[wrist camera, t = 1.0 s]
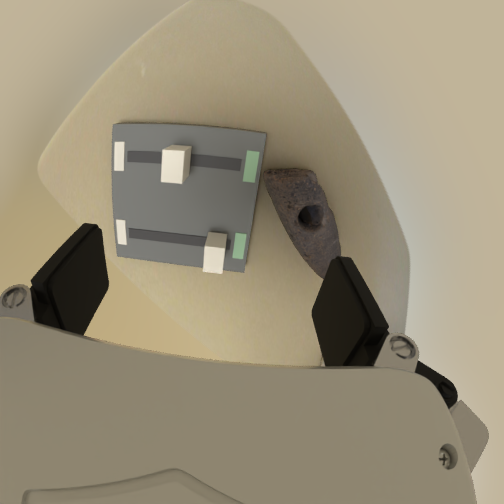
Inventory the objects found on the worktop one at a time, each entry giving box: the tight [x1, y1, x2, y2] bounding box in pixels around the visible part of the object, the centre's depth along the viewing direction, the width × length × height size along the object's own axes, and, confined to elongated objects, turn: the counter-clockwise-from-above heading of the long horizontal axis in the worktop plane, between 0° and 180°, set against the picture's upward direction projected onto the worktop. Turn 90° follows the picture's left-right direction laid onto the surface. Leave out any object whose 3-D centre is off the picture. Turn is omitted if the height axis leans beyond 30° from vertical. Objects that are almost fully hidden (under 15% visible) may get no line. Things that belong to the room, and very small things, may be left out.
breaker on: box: [203, 232, 227, 274], centre depth 29 cm, size 2×3×3 cm, turn 172°
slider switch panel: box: [112, 123, 266, 273], centre depth 29 cm, size 16×16×2 cm
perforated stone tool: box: [263, 168, 341, 279], centre depth 28 cm, size 15×5×7 cm, turn 25°
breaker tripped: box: [161, 145, 192, 184], centre depth 24 cm, size 2×3×3 cm, turn 172°
